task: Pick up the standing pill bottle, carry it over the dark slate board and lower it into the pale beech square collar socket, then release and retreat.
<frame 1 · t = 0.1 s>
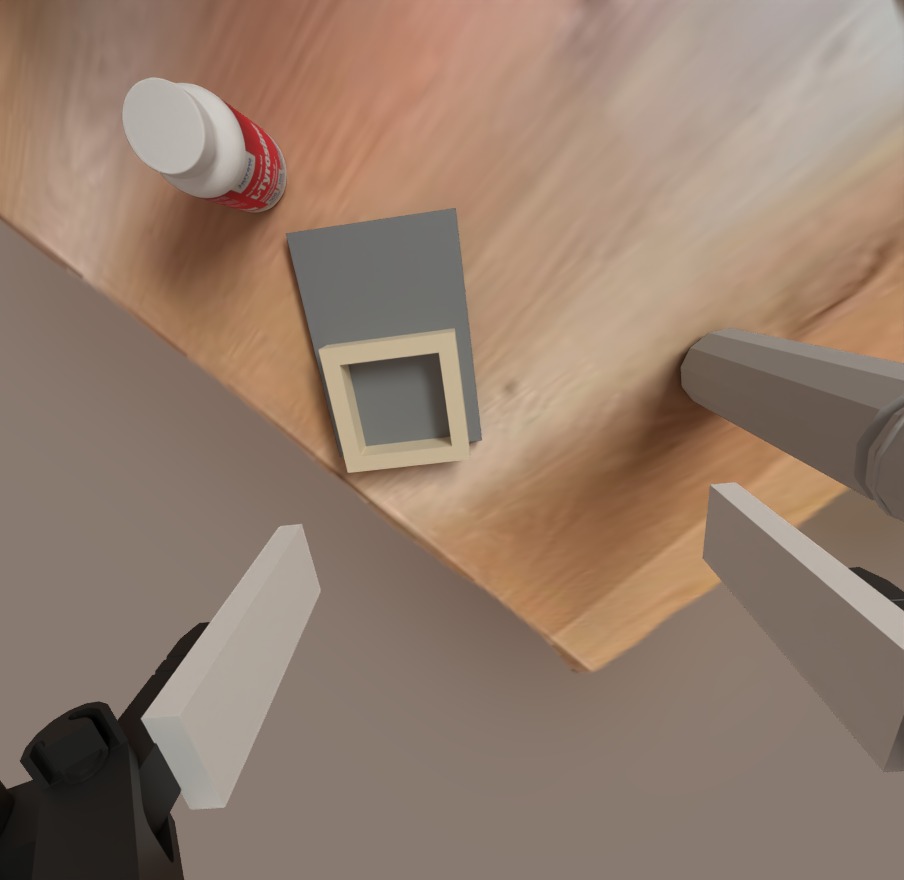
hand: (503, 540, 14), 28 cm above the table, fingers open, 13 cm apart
pill bottle: (252, 171, 35), on the table
socket board: (393, 343, 40), on the table
water bottle: (724, 366, 40), on the table
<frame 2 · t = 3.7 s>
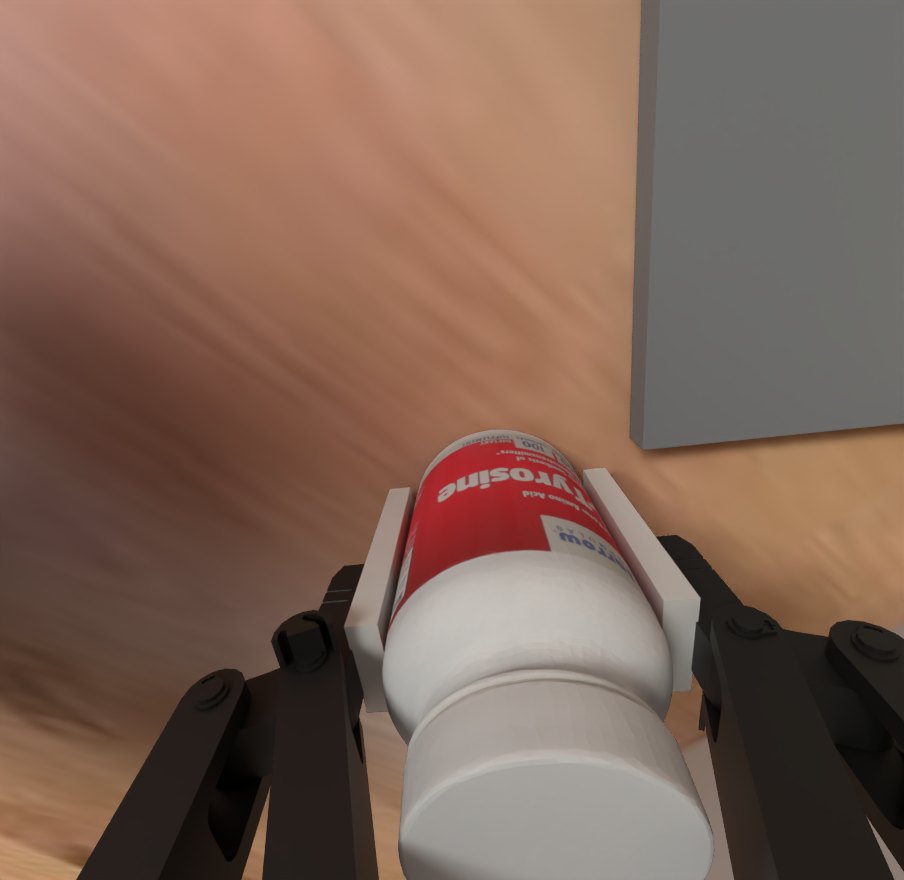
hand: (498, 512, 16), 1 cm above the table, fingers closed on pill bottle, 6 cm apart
pill bottle: (496, 496, 17), on the table, touching gripper
when the fingers open (4 cm above the table, at t = 8.7 s): pill bottle drops 2 cm, resting on socket board.
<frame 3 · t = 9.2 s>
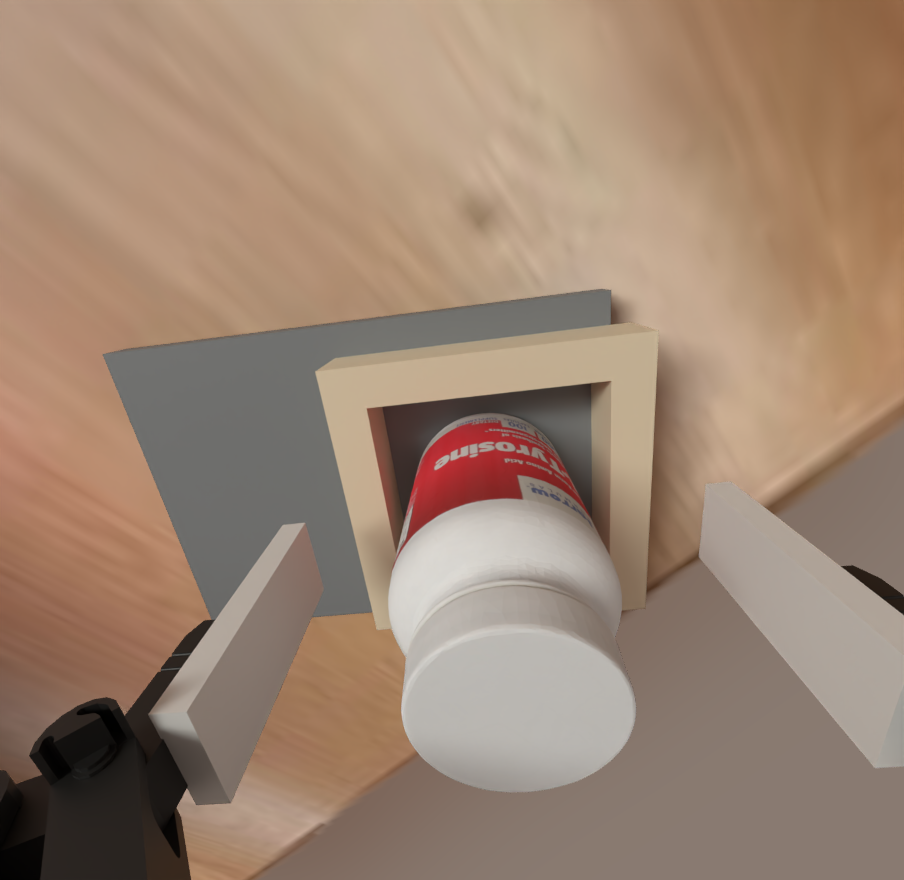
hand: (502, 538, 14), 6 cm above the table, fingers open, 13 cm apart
pill bottle: (487, 473, 19), point 1 cm above the table, touching socket board
socket board: (384, 473, 20), on the table
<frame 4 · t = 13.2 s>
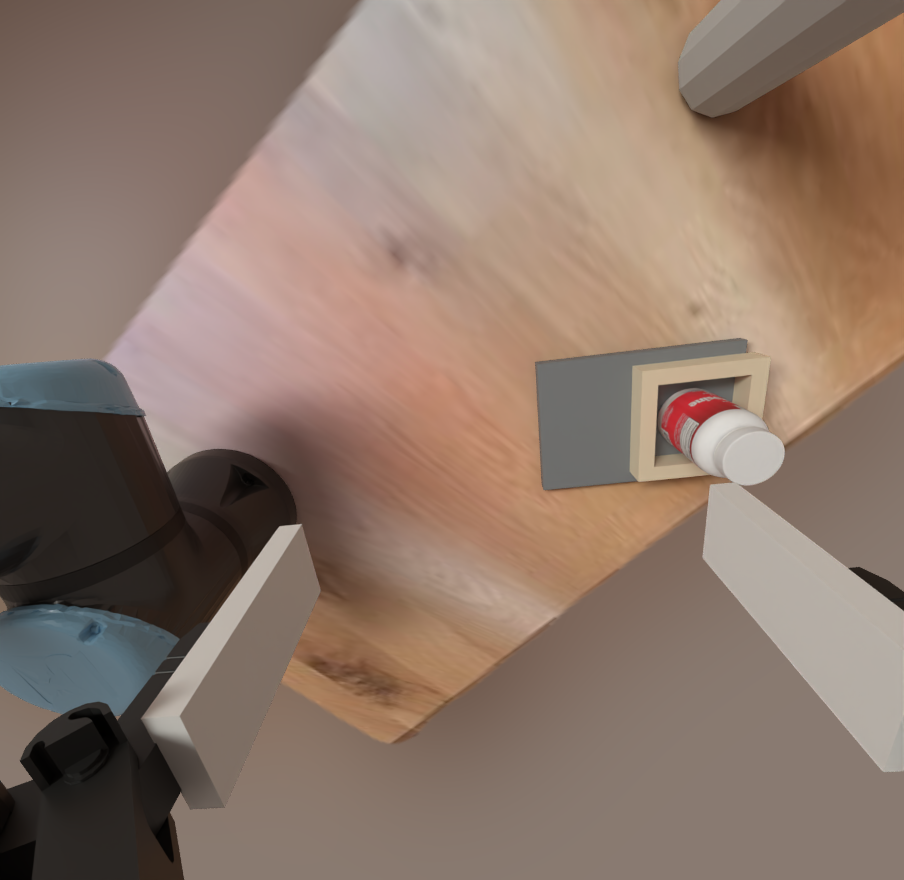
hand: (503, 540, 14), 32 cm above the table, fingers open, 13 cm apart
pill bottle: (685, 415, 44), point 1 cm above the table, touching socket board
socket board: (634, 416, 45), on the table
water bottle: (719, 54, 35), on the table
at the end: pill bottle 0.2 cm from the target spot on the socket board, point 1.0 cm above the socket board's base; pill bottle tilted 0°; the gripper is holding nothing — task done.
